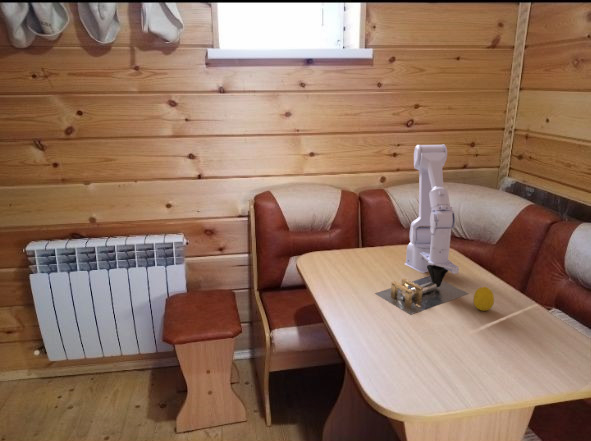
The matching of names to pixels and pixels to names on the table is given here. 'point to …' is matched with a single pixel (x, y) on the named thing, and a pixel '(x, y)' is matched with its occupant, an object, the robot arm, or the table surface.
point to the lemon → (483, 298)
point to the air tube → (426, 288)
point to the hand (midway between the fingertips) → (436, 286)
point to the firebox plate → (419, 295)
